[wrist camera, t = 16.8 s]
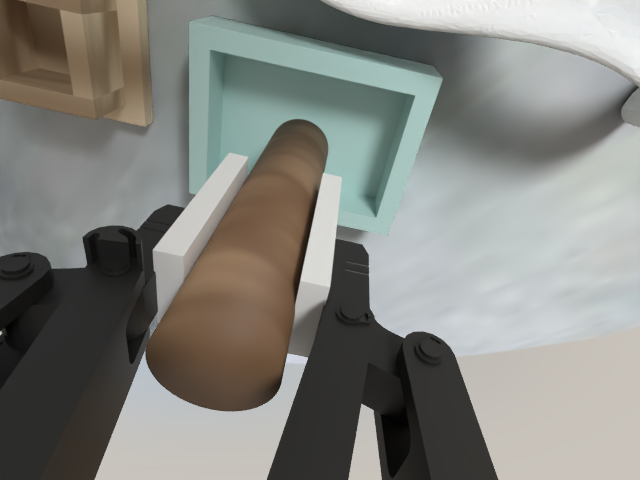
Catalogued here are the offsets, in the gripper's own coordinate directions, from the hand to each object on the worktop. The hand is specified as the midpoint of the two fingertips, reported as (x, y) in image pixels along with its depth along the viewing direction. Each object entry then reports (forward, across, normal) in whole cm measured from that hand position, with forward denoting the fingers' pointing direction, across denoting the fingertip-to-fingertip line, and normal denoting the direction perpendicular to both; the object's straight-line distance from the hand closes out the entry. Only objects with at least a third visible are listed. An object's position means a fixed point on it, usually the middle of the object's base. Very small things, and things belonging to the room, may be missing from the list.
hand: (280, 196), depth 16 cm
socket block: (+9, -14, +2) cm, 17 cm away
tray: (+9, 0, 0) cm, 9 cm away
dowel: (+6, 0, 0) cm, 6 cm away
